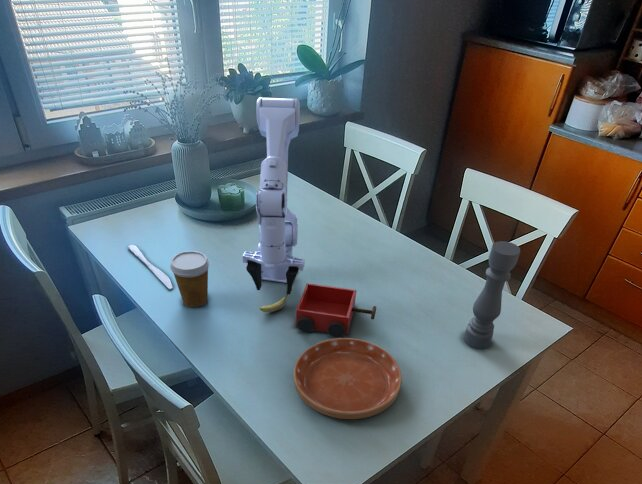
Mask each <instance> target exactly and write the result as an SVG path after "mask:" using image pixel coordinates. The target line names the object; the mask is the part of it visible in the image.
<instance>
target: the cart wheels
mask: <svg viewBox="0 0 642 484" xmlns="http://www.w3.org/2000/svg"><path fill="white" fill-rule="evenodd" d="M352 311H353V313H359V314H360V313H361V314H368V315H370V319H371V320H374V319H375V317H376V313H377V306H376V305H373V306H372V309H371V310H370V309H364V308H357V307H354V308H352ZM297 327H298V328H297ZM297 327H296V328H297V330H299V331H300V332H302V333H308V334H309V333H311V332H312V331H314V330H313V327H314V322H313V321H312V320H311V319H310V318H308V317H302V318H300V319H299V320H298V322H297ZM327 333H328V334H329V335H330V336H331V337H333V338H343V336H345V335H344V333H345V326H344V325H343V324H342V323H340V322H332V323H331V324H330V325H329V328H328V332H327Z"/></svg>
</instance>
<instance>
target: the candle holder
mask: <svg viewBox="0 0 642 484" xmlns="http://www.w3.org/2000/svg"><path fill="white" fill-rule="evenodd" d="M520 254H521V248H520V247H519V246H518V245H517V244H515V243H513V242H510V241H505V240H504V241H503V240H501V241H495V242H494V243H492V245H491V249H490V252H489V255H488V265H489V267H488V268H486V270H485V276H486V281H485V284H484V286H483V288H482V290H481V292H480V293H479V295H478V296H477V298H476V300H475V301H474V302H473V306H472V312H473V317H472V318H471V319H470V320H469V322H468V324H467V325H466V327H465V328H466V329H465V332H464V335H463V341H464V343H465V344H466V345H467V346H469V347H471V348H474V349H479V350H482V349H486V348H488V347H489V346H490V345H491V342H492V339H493V336H494V330H495V324H494V321H495V320H496V319H497V318H499V317H500V315H501V312H502V299H503V290H504V287H505V284H506V282H508V281H509V280H510V279H511V276H512V275H511V271H512V270H513V269H514V268H515V267H516V266H517V263H518V260H519V257H520Z"/></svg>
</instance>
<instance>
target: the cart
mask: <svg viewBox="0 0 642 484" xmlns="http://www.w3.org/2000/svg"><path fill="white" fill-rule="evenodd" d="M356 297H357V289H352V288H343V287H336V286H331V285H322V284H317V283H309V282H308V283H306V284H305V286H304V289H303V292H302V294H301V296H300V299H299V302H298V304H297V306H296V309H295V328H297V329H298V327H297V322H298V320H299V319H300V318H302V317H308V318H310V319H311V320H312V321H313V322H314V327H313V330H312V331H317V332H324V333H329V332H328V328H329V325H330V324H331V323H332V322H340V323H342V324H343V325H344V326H345V333H344V335H343V336H348V334H349V330H350V327H351V323H352V319H353V315H354V312H353V311H352V308H356V307H355V306H356Z"/></svg>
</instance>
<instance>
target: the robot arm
mask: <svg viewBox="0 0 642 484" xmlns="http://www.w3.org/2000/svg"><path fill="white" fill-rule="evenodd" d="M255 108H256V111H255V112H256V123H257V126H258V127H257V128H258V131H259V133H260V136H262V137H264V138H266V158H265V159H263V160H262V161H261V164H260V176H259V177H260V178H259V190H258V191H256V194H255V210H256V215H257V221H258V222H257V223H258V225H259V227H258V241H259V243H258V245H257V249H256V251H244V253H243V254H242V263H244V264H246V267H245V269H246V272H248V274H249V275H250V277H251V279H252V281H253V283H254V285H255V288H256V291H260V290H261V288H262V286H263V281H270V282H277V283H284V284H286V292H287V294H288V295H287V296H289V295H291V293H292V291H293V285H294V282H295V279H296V277H297V275H298V274H299V271H301V272H303V271H304V269H305V259H304V258H299V257H296V256H294V255H293V248H295V247H296V246H297V245H298V237H299V236H298V234H299V231H298V230H299V225H298V217H297V215H296V214H295V213H294V212H292V211H291V210H290V209H289V208H288V187H289V186H288V184H289V183H288V182H289V179H288V173H289V146H290V144H291V141H292V140H293V139H295V138H297V137H298V136H299V132H300V116H301V115H300V114H301V101H300V100H299V99H298V97H296V98H284V97H283V98H279V97H262V96H259V97H258V98H257V100H256V107H255Z"/></svg>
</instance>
